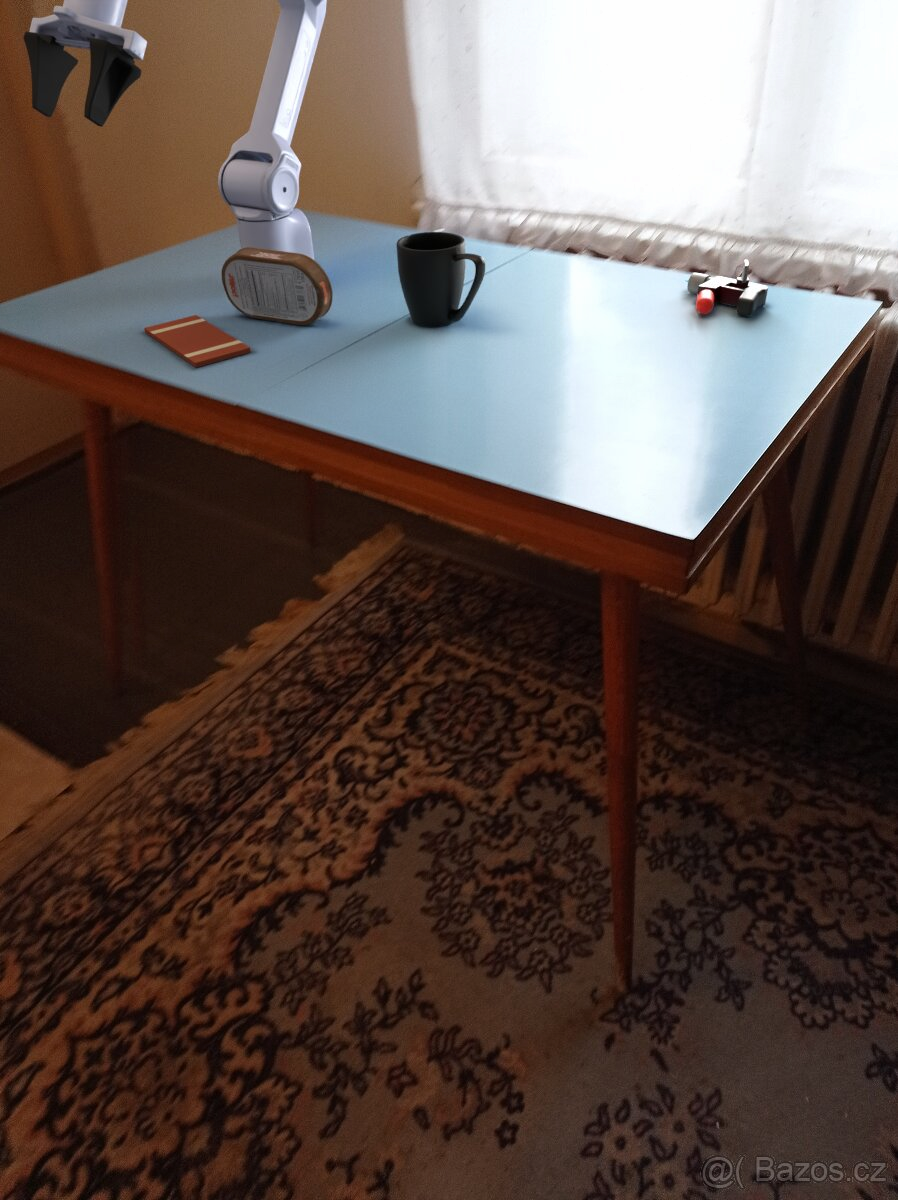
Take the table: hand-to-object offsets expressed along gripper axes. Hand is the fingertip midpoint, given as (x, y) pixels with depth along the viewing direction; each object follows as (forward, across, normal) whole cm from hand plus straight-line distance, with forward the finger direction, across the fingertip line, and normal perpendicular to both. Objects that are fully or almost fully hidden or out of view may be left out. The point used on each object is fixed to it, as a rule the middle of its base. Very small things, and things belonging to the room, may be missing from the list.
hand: (67, 117), depth 97 cm
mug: (+6, +35, +30) cm, 47 cm away
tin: (+12, +15, +25) cm, 31 cm away
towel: (+18, +11, +16) cm, 26 cm away
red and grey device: (-7, +63, +45) cm, 78 cm away
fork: (-6, +21, +49) cm, 54 cm away
